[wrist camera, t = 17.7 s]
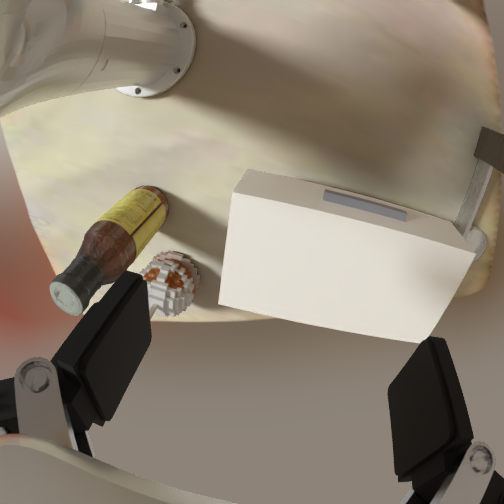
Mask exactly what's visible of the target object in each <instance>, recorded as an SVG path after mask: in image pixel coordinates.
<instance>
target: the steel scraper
mask: <svg viewBox="0 0 504 504" xmlns="http://www.w3.org/2000/svg"><path fill="white" fill-rule="evenodd" d="M474 156H475V157H477V158H479V160H478V163H477V166H476V169H475V172H474V175H473V178H472V180H471V183H470V186H469V189H468V192H467V194H466V197H465V199H464V202H463V205H462V207H461V210H460V212H459V215H458V217H457V219H456V222H455V224H454V227H455V228H456V229H457V230H458V231H459V233H460V234H461V235H462V236H463V238H464V239H466V236H467V234H468V232H469V230H470V227H471V225H472V223H473V221H474V218H475V216H476V213H477V211H478V208H479V206H480V203H481V201H482V198H483V196H484V193H485V190H486V188H487V185H488V182H489V179H490V176H491V174H492V171H493V168H496V169H497V170H499V171H500V172H502V173H503V174H504V135H503V134H501V133H498V132H496V131H493V130H490V129H488V128H485V127H482V129H481V133H480V136H479V140H478V143H477V147H476V150H475V153H474Z"/></svg>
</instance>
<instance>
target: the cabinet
mask: <svg viewBox="0 0 504 504" xmlns="http://www.w3.org/2000/svg"><path fill="white" fill-rule="evenodd" d="M475 255H476V253H475V252H474V251H473V249H472V248H471V247H470V245H469V244H468V243H467V241H466V240H465V239H464V238H463V236H462V235H461V234H460V233H459V231H458V230H457V229H456V228H455V227H454V225H453V224H452V223H451V222H450V221H447V220H444V219H441V218H438V217H435V216H432V215H429V214H425V213H422V212H419V211H416V210H413V209H409V208H406V207H403V206H399V205H396V204H392V203H389V202H385V201H382V200H378V199H375V198H371V197H368V196H364V195H360V194H356V193H353V192H349V191H345V190H341V189H337V188H333V187H329V186H325V185H321V184H316V183H312V182H308V181H304V180H299V179H295V178H290V177H286V176H281V175H276V174H271V173H267V172H262V171H257V170H252V169H247V171H246V172H245V174H244V175H243V177H242V178H241V180H240V182H239V183H238V185H237V186H236V188H235V189H234V191H233V193H232V200H231V207H230V214H229V222H228V229H227V237H226V245H225V252H224V260H223V268H222V276H221V285H220V293H219V301H218V304H220V305H224V306H228V307H232V308H237V309H241V310H245V311H250V312H254V313H259V314H263V315H268V316H272V317H277V318H281V319H286V320H291V321H296V322H301V323H305V324H310V325H315V326H321V327H326V328H331V329H337V330H342V331H347V332H353V333H358V334H364V335H370V336H376V337H382V338H388V339H395V340H401V341H408V342H414V343H421V342H422V341H423V340H426V339H427V337H428V336H429V335H430V333H431V331H432V330H433V329H434V327H435V325H436V324H437V322H438V321H439V319H440V318H441V316H442V314H443V313H444V311H445V310H446V308H447V306H448V304H449V303H450V301H451V300H452V298H453V296H454V294H455V293H456V291H457V289H458V287H459V286H460V284H461V282H462V280H463V278H464V276H465V275H466V273H467V271H468V269H469V267H470V265H471V263H472V261H473V259H474V257H475Z"/></svg>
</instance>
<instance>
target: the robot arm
mask: <svg viewBox="0 0 504 504" xmlns="http://www.w3.org/2000/svg"><path fill="white" fill-rule="evenodd" d="M185 25H187V27H186V28H185ZM195 49H196V35H195V29H194V27H193V24H192V22H191V20H190V19H189V17H188V16H187V14H186V13H185V12H183V11H182V10H181V9H180V8H178V7H176V6H175V5H173V4H170V3H168V2H164V0H142V2H141V3H140V2H139V0H129V2H126V1H123V0H0V118H2V117H3V116H5V115H7V114H9V113H11V112H13V111H16V110H18V109H20V108H23V107H26V106H29V105H32V104H36V103H39V102H43V101H47V100H51V99H55V98H60V97H64V96H69V95H74V94H79V93H85V92H91V91H97V90H104V89H111V88H115V89H116V90H118V91H119V92H120V93H123V94H125V95H127V96H132V97H148V96H153V95H156V94H160V93H162V92H164V91H166V90H168V89H169V88H171V87H172V86H173V85H175V84H176V83H177V82H178V81H179V80H180V79H181V78H182V77H183V76H184V74H185V73H186V71H187V70H188V68H189V67H190V64H191V62H192V60H193V57H194V53H195ZM179 68H180V72H178V69H179ZM140 89H141V92H140ZM151 337H152V335H151V326H150V313H149V301H148V286H147V281H146V280H143V276H142V275H141V274H137V273H134V272H130V271H127V270H126V271H124V272H123V273H122V274H121V275H120V276H119V278H118V279H117V280H116V281H115V283H114V284H113V285H112V286H111V288H110V289H109V290H108V291H107V292H106V294H105V295H104V296H103V298H102V299H101V300H100V301H99V302H97V303H94V304H93V305H92V306H91V308H90V309H89V310H88V311H87V313H86V314H85V315H84V317H83V318H82V319H81V320H80V322H79V323H78V324H77V326H76V327H75V328H74V330H73V331H72V332H71V334H70V335H69V336H68V338H67V339H66V340H65V342H64V343H63V344H62V346H61V347H60V348H59V350H58V351H57V353H56V354H55V356H54V357H53V358H52V360H51V361H48V360H47V359H44V358H41V357H33V358H31V359H27V360H26V361H24V362H23V363H22V364H21V365H20V366H19V367H18V368H17V371H16V373H15V377H13V378H9V379H4V380H0V504H238V503H233V502H228V501H223V500H219V499H214V498H210V497H206V496H202V495H198V494H194V493H190V492H186V491H183V490H180V489H176V488H173V487H169V486H166V485H163V484H160V483H157V482H154V481H151V480H148V479H146V478H143V477H140V476H137V475H135V474H132V473H129V472H127V471H124V470H121V469H119V468H116V467H114V466H111V465H109V464H107V463H104V462H102V461H100V460H97V459H96V456H95V453H94V450H93V447H92V444H91V440H90V437H89V434H88V430H89V429H90V427H91V425H92V423H95V424H98V425H100V426H103V425H104V423H105V421H110V420H111V419H112V417H113V415H114V413H115V411H116V409H117V407H118V405H119V403H120V401H121V399H122V397H123V395H124V393H125V391H126V389H127V387H128V385H129V383H130V382H131V380H132V378H133V376H134V374H135V372H136V370H137V368H138V366H139V364H140V362H141V360H142V358H143V357H144V354H145V352H146V351H147V349H148V347H149V345H150V342H151ZM388 401H389V410H390V419H391V429H392V439H393V440H392V441H393V454H394V469H395V474H396V475H398V482H409V481H412V488H411V489H410V491H409V492H408V493H407V495H406V496H405V498H404V499H403V500H402V502H401V503H400V504H504V478H503V477H501V476H500V475H499V474H498V473H497V472H496V471H495V470H494V469H495V465H496V458H495V454H494V452H493V450H492V448H491V447H490V446H489V445H488V444H486V443H484V442H480V441H478V442H475V443H473V444H472V443H471V440H472V439H473V438H474V437H473V432H472V427H471V423H470V419H469V415H468V411H467V407H466V404H465V400H464V396H463V393H462V389H461V386H460V383H459V379H458V376H457V373H456V370H455V367H454V364H453V361H452V358H451V355H450V352H449V349H448V346H447V344H446V341H445V339H443V338H439V337H432V336H430V337H427V339H426V340H423V341H422V342H421V343H420V345H419V346H418V348H417V349H416V350H415V352H414V353H413V355H412V356H411V357H410V359H409V360H408V362H407V363H406V364H405V366H404V367H403V368H402V370H401V371H400V372H399V374H398V375H397V377H396V378H395V379H394V380H393V382H392V383H391V384H390V386H389V388H388Z"/></svg>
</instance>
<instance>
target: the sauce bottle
mask: <svg viewBox="0 0 504 504" xmlns="http://www.w3.org/2000/svg"><path fill="white" fill-rule="evenodd" d="M167 215H168V204H167V201H166V198H165V196H164V195H163V194H162V193H161V192H160V191H159V190H157V189H156V188H154V187H152V186H141V187H138V188H136V189H134V190H133V191H131V192H130V193H128V194H127V195H126V196H125V197H124V198H122V199H121V200H120V201H119V202H118V203H117V204H116V205H114V206H113V207H112V208H111V209H110V210H109V211H108V212H107V213H105V214H104V215H103V216H102V217H101V218H100V219H99V220H98V221H97V222H95V223H94V224H93V225H92V226H91V228H90V229H89V230H88V231H87V233H86V234H85V236H84V240H83V243H82V245H81V248H80V250H79V252H78V254H77V256H76V258H75V259H74V260H73V261H72V263H71V264H70V265H69V266H68V267H67V268H66V270H65V271H64V272H63V273H61V274H59V275H57V276H56V277H55V279H54V280H53V281H52V283H51V284H50V293H51V296H52V298H53V300H54V302H55V303H56V304H57V306H58V307H60V308H61V309H62V310H63V311H65V312H67V313H68V314H71V315H73V316H78V315H81V314H82V313H83V312H84V311H85V309H86V308H87V307H88V305H89V301H90V299H91V298H92V296H93V295H94V294H95V292H96V291H97V290H98V289H99V288H100V287H101V286H102V285H106V284H112V283H113V282H115V281H116V280H117V279H118V278H119V276H120V275H121V274H122V273H123V272H124V271H126V270H127V269H128V267H129V266H130V265H131V264H132V263H133V262H134V261H135V259H136V258H137V257H138V255H139V254H140V253H141V251H142V250H143V249H144V248H145V246H146V245H147V244H148V242H149V241H150V240H151V239H152V237H153V236H154V235H155V234H156V232H157V231H158V230H159V229H160V227H161V226H162V225H163V223H164V221H165V219H166V217H167Z"/></svg>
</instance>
